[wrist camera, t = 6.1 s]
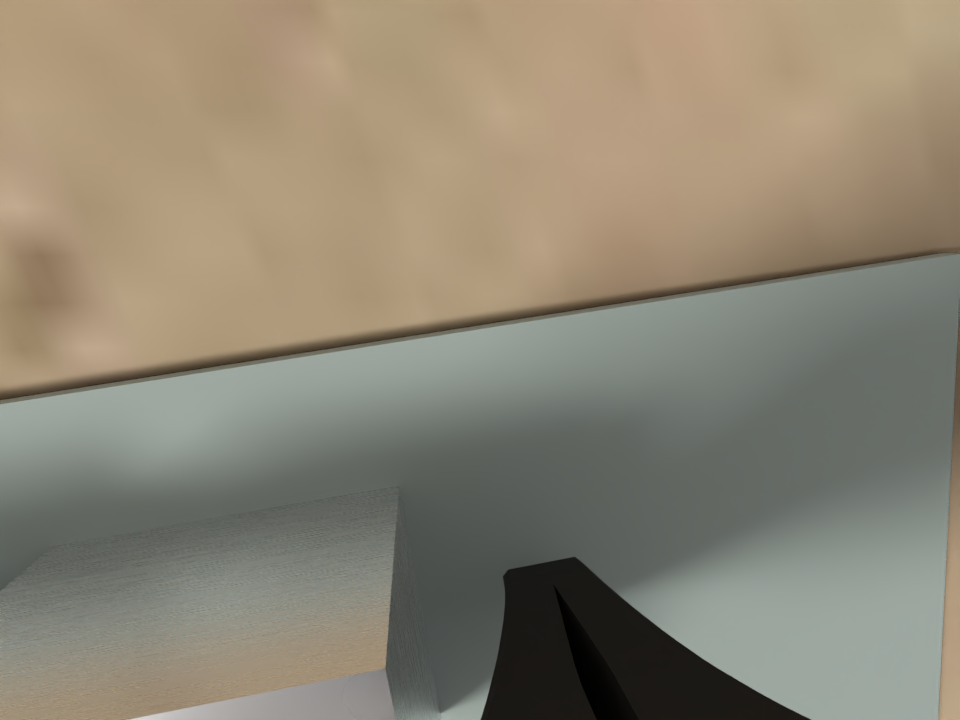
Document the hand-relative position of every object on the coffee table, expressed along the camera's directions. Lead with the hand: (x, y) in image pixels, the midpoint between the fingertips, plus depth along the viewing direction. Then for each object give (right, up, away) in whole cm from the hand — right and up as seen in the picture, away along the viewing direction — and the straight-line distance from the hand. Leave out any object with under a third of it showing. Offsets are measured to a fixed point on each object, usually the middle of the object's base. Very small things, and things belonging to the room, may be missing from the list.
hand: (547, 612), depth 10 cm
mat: (-2, -1, +1) cm, 3 cm away
